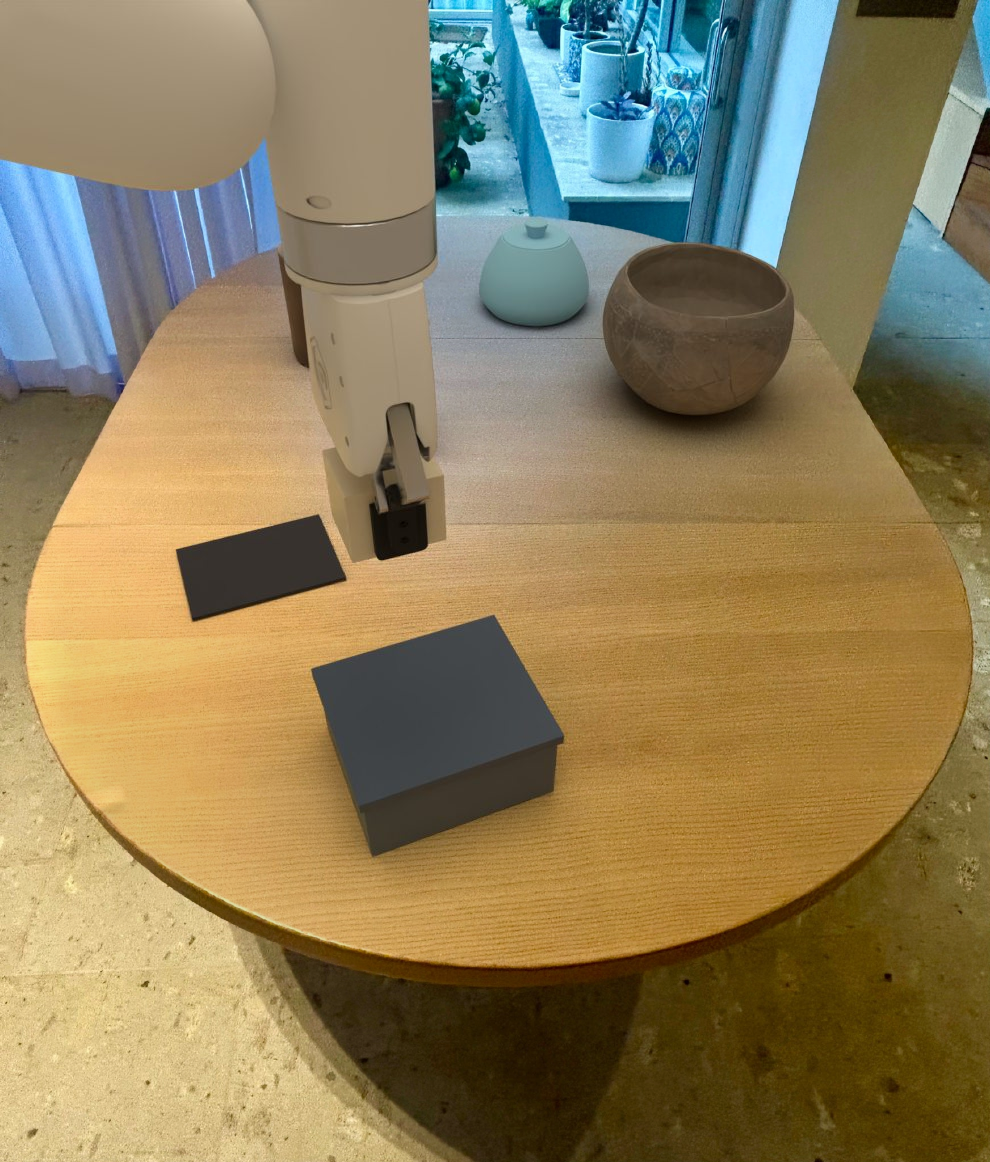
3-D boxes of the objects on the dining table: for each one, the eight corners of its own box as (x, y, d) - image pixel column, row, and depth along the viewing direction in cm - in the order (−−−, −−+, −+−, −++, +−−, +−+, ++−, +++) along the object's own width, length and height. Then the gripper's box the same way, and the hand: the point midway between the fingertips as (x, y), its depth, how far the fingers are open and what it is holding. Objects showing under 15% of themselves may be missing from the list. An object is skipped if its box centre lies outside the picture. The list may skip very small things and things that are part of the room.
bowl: (809, 421, 102) (845, 297, 91) (651, 461, 96) (670, 334, 86) (709, 339, 116) (731, 223, 105) (566, 370, 110) (574, 251, 100)
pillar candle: (333, 379, 108) (316, 259, 98) (278, 355, 113) (256, 237, 102) (387, 348, 114) (376, 231, 104) (332, 326, 118) (317, 212, 108)
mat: (192, 621, 78) (191, 618, 78) (176, 552, 85) (175, 549, 85) (346, 580, 82) (345, 576, 82) (319, 517, 89) (318, 513, 89)
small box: (352, 563, 53) (343, 497, 50) (331, 514, 56) (321, 449, 53) (446, 540, 55) (444, 474, 51) (421, 493, 58) (417, 429, 55)
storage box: (369, 862, 61) (358, 806, 57) (323, 726, 70) (310, 668, 65) (559, 792, 66) (564, 735, 61) (494, 673, 74) (494, 614, 69)
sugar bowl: (495, 276, 129) (496, 194, 121) (597, 288, 126) (604, 206, 119) (465, 322, 119) (463, 237, 111) (575, 337, 116) (581, 250, 108)
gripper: (248, 184, 48) (297, 462, 60) (326, 324, 36) (367, 632, 49) (383, 168, 50) (403, 439, 62) (497, 295, 38) (494, 597, 51)
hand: (387, 521), depth 55 cm, fingers closed on small box, 5 cm apart
